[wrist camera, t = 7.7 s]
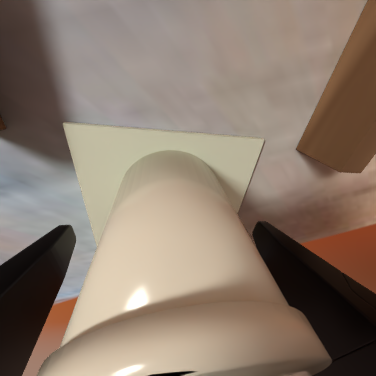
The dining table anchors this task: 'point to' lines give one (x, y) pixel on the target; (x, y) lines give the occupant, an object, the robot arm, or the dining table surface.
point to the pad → (144, 145)
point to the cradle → (345, 105)
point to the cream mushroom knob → (181, 288)
